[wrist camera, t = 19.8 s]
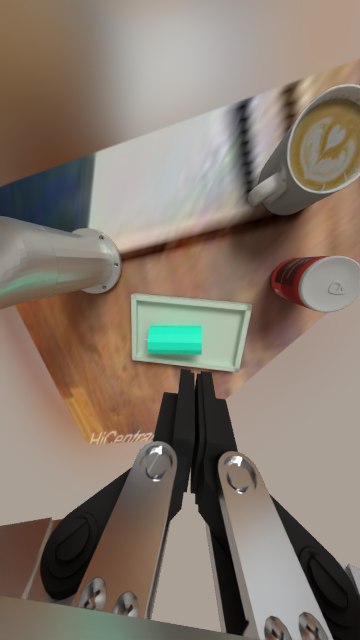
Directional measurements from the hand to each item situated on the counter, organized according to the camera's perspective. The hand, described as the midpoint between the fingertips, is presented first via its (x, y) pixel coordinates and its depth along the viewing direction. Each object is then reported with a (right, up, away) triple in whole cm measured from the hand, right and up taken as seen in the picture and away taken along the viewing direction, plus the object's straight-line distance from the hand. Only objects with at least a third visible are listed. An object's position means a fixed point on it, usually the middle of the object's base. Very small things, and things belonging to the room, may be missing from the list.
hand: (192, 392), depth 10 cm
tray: (+1, +2, +30) cm, 30 cm away
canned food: (+21, +12, +25) cm, 34 cm away
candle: (+4, 0, +26) cm, 26 cm away
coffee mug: (+16, +27, +20) cm, 37 cm away
